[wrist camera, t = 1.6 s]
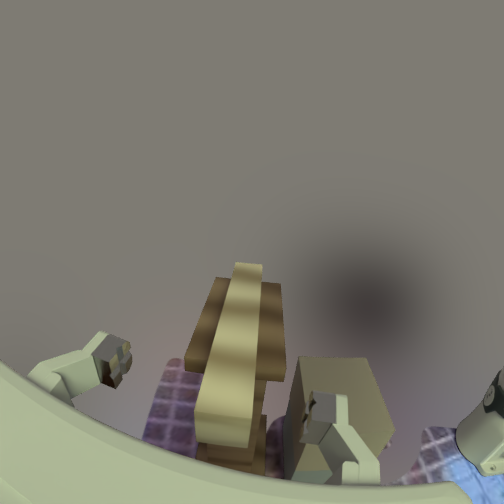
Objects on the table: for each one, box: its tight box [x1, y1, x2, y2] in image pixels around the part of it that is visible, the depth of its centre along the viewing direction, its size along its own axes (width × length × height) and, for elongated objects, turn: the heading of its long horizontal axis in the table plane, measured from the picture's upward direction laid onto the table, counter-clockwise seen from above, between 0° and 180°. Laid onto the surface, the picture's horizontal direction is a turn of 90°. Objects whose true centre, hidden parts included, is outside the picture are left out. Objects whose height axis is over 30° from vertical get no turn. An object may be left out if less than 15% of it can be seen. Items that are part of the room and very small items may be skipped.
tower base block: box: [283, 400, 333, 484], centre depth 37 cm, size 14×10×8 cm
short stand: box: [184, 277, 286, 476], centre depth 34 cm, size 16×10×26 cm, turn 177°
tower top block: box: [290, 356, 395, 471], centre depth 34 cm, size 14×10×8 cm
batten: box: [194, 262, 262, 448], centre depth 25 cm, size 22×3×3 cm, turn 177°
